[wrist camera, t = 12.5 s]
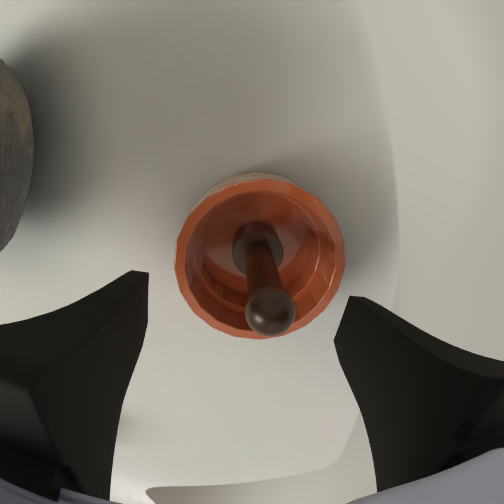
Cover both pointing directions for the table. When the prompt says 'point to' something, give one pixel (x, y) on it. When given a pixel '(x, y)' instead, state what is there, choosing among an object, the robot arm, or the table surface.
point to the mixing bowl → (291, 237)
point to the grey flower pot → (13, 152)
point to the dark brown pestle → (263, 279)
